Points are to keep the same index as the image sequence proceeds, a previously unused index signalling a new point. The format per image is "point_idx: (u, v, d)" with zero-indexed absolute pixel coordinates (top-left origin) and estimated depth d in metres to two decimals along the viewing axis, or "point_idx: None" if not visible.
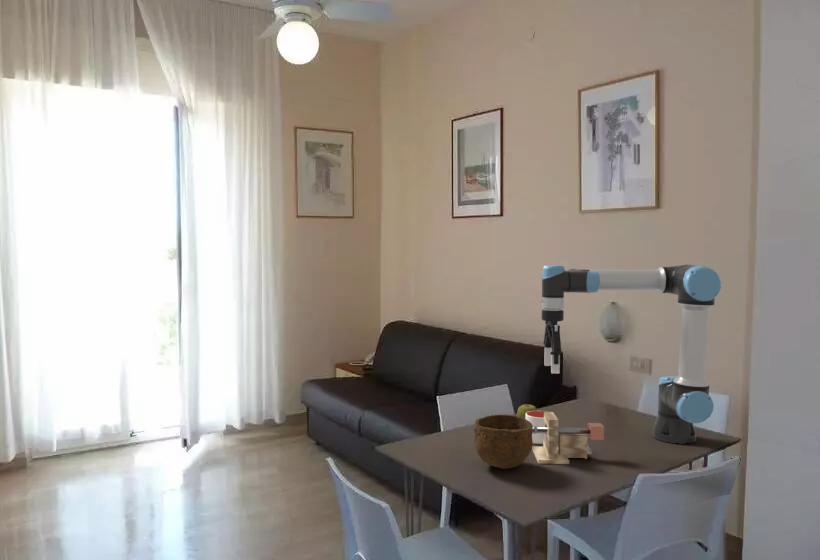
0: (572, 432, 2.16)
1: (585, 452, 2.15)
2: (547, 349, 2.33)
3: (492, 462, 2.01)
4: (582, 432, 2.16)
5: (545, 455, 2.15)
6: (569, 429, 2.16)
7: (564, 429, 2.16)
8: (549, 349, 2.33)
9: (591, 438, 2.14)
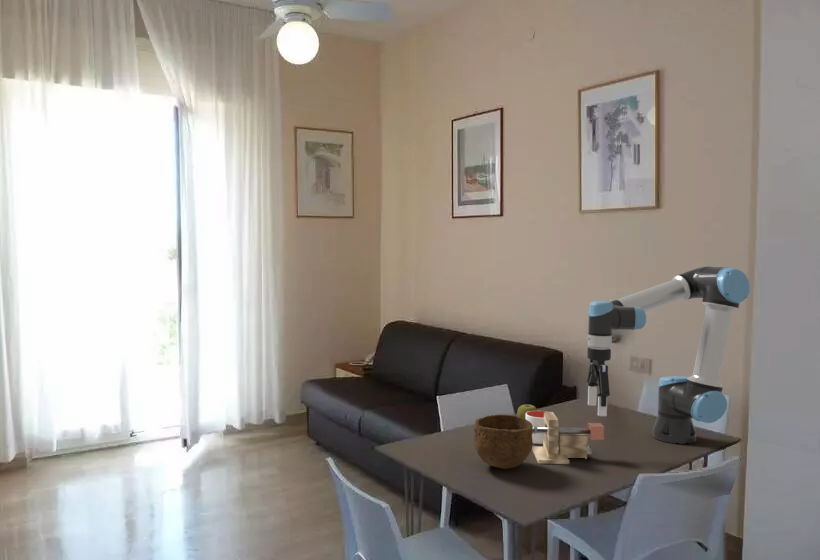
0: (572, 432, 2.16)
1: (585, 452, 2.15)
2: (591, 388, 2.22)
3: (492, 462, 2.01)
4: (582, 432, 2.16)
5: (545, 455, 2.15)
6: (569, 429, 2.16)
7: (564, 429, 2.16)
8: (593, 388, 2.22)
9: (591, 438, 2.14)
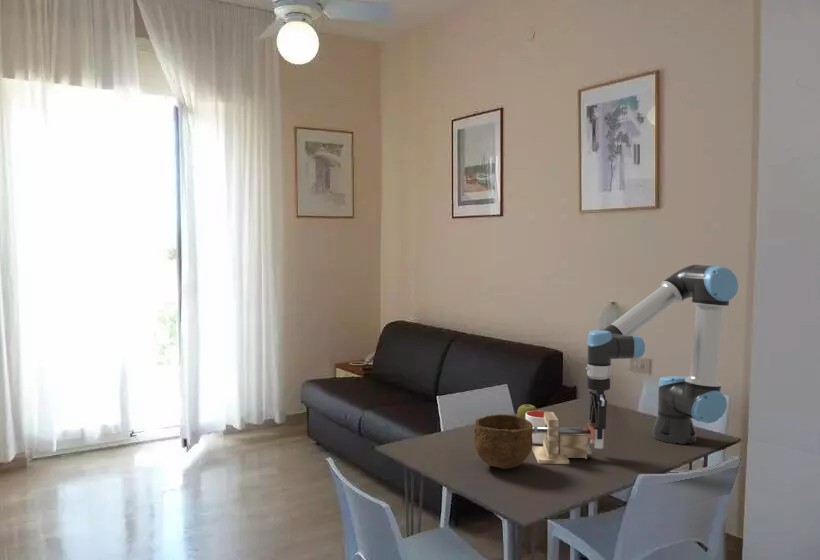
0: (572, 432, 2.16)
1: (585, 452, 2.15)
2: None
3: (492, 462, 2.01)
4: (582, 432, 2.16)
5: (545, 455, 2.15)
6: (569, 429, 2.16)
7: (564, 429, 2.16)
8: None
9: (591, 438, 2.14)
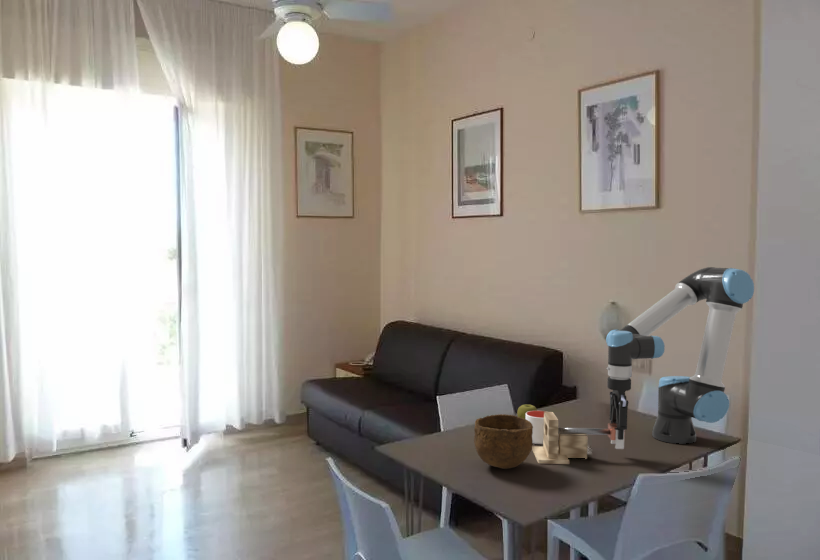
0: (593, 432, 2.15)
1: (585, 452, 2.15)
2: None
3: (492, 462, 2.01)
4: (603, 432, 2.15)
5: (545, 455, 2.15)
6: (590, 429, 2.16)
7: (585, 429, 2.16)
8: None
9: (612, 438, 2.14)
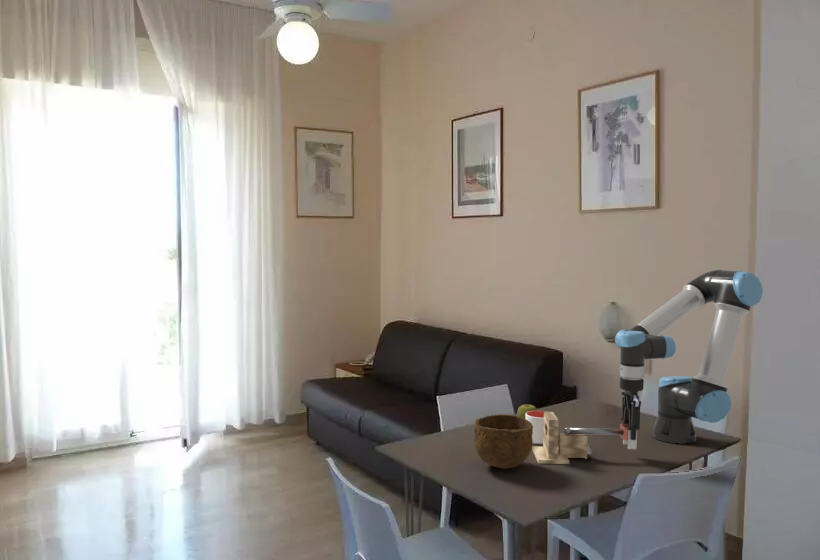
0: (605, 433, 2.15)
1: (585, 452, 2.15)
2: None
3: (492, 462, 2.01)
4: (615, 433, 2.15)
5: (545, 455, 2.15)
6: (602, 430, 2.16)
7: (597, 430, 2.16)
8: None
9: (624, 439, 2.14)
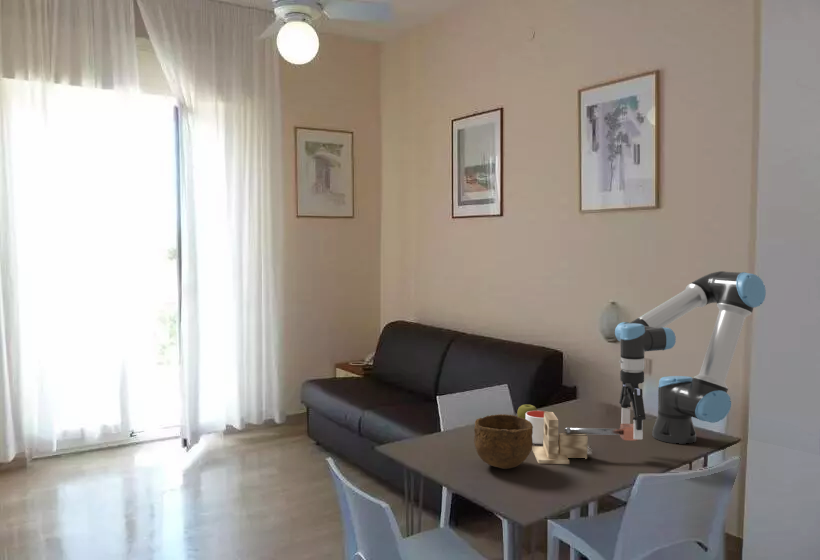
0: (605, 433, 2.15)
1: (585, 452, 2.15)
2: (624, 409, 2.22)
3: (492, 462, 2.01)
4: (615, 433, 2.15)
5: (545, 455, 2.15)
6: (602, 430, 2.16)
7: (597, 430, 2.16)
8: (626, 409, 2.22)
9: (624, 439, 2.14)
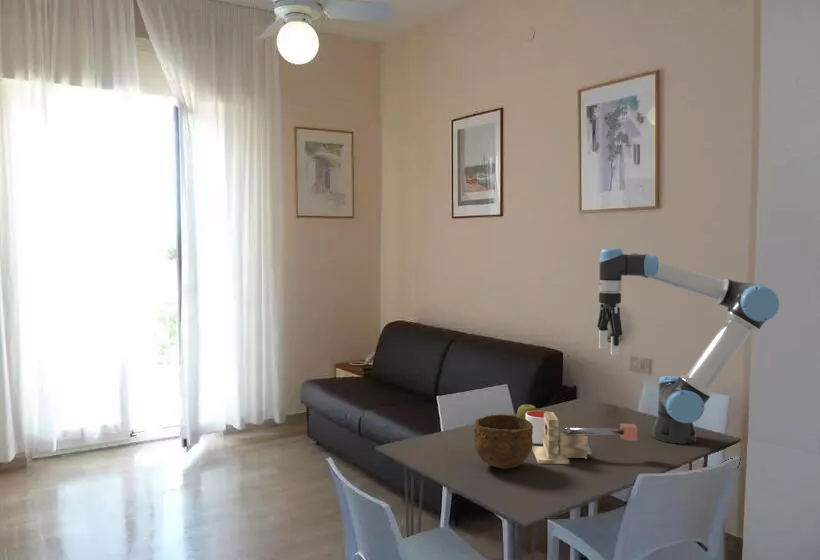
0: (605, 433, 2.15)
1: (585, 452, 2.15)
2: (602, 332, 2.36)
3: (492, 462, 2.01)
4: (615, 433, 2.15)
5: (545, 455, 2.15)
6: (602, 430, 2.16)
7: (597, 430, 2.16)
8: (604, 332, 2.36)
9: (624, 439, 2.14)
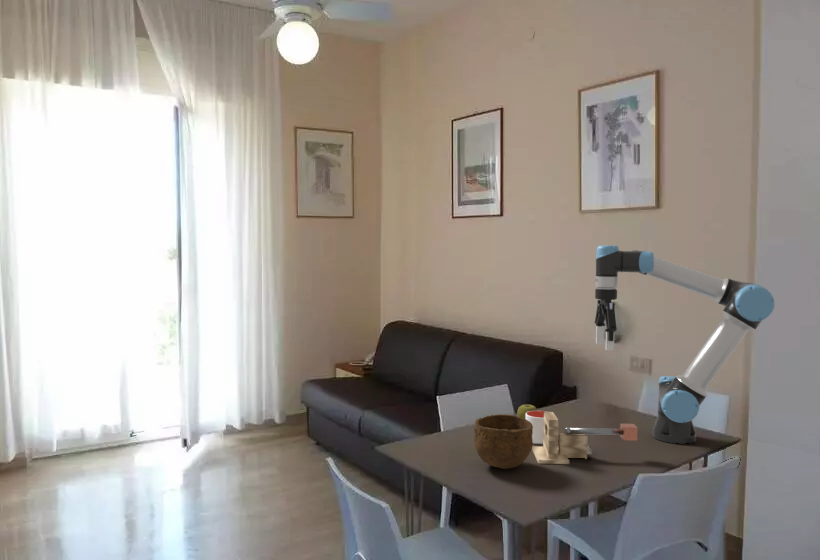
0: (605, 433, 2.15)
1: (585, 452, 2.15)
2: (599, 328, 2.39)
3: (492, 462, 2.01)
4: (615, 433, 2.15)
5: (545, 455, 2.15)
6: (602, 430, 2.16)
7: (597, 430, 2.16)
8: (601, 328, 2.39)
9: (624, 439, 2.14)
